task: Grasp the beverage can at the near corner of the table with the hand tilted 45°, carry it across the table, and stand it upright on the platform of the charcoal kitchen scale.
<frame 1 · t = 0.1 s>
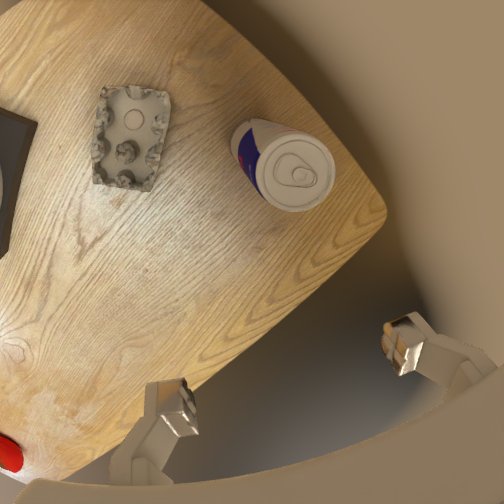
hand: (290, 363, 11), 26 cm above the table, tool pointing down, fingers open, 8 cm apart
egg carton: (133, 134, 30), on the table
beverage can: (254, 142, 33), on the table
tomato: (9, 440, 54), on the table
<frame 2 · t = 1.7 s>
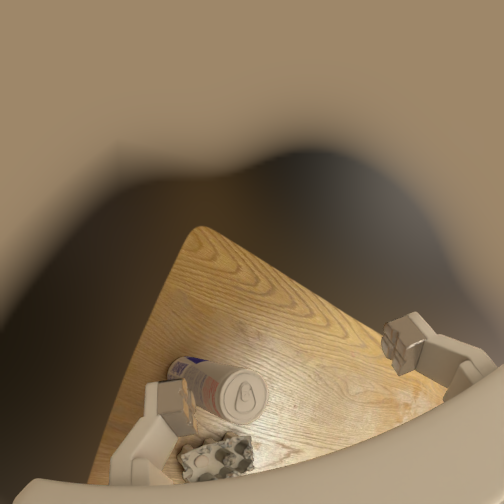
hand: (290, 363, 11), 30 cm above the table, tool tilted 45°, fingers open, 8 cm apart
egg carton: (210, 456, 37), on the table
beverage can: (185, 376, 38), on the table
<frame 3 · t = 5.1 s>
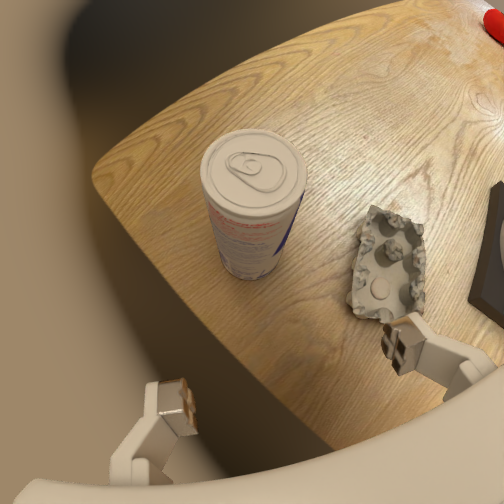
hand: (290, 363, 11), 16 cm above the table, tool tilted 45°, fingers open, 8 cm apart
egg carton: (379, 272, 29), on the table
beverage can: (250, 252, 30), on the table
tomato: (493, 37, 51), on the table
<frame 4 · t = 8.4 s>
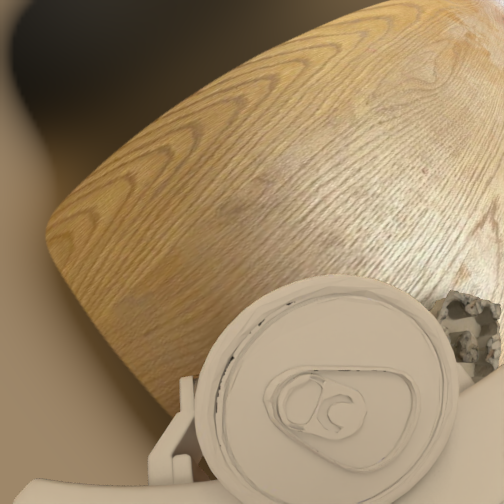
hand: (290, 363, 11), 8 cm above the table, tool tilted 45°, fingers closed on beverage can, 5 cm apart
egg carton: (443, 368, 19), on the table
beverage can: (275, 362, 19), on the table, touching gripper
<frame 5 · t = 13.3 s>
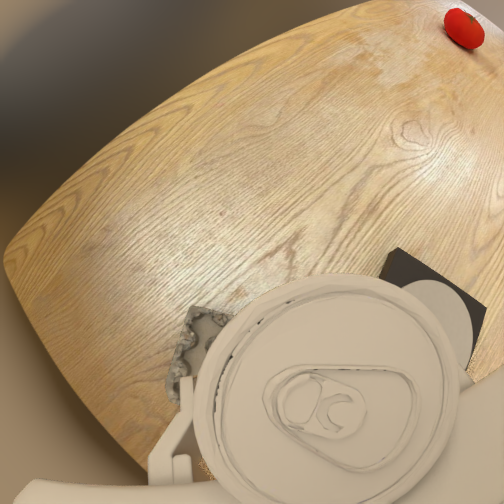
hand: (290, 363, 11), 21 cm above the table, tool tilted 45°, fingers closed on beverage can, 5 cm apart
egg carton: (213, 361, 31), on the table
beverage can: (275, 361, 19), point 13 cm above the table, touching gripper
scale: (412, 348, 32), on the table
tomato: (456, 40, 52), on the table
when the fingers open (12 cm above the table, at t = 18.7 s): beverage can stays where it is, resting on scale.
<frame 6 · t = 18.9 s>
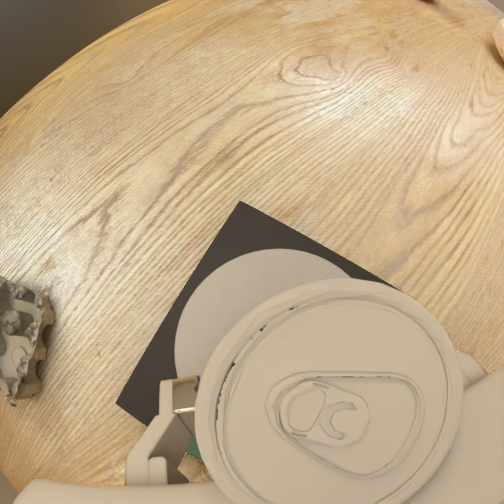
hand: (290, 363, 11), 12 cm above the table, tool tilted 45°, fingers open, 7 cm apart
egg carton: (23, 340, 22), on the table
beverage can: (276, 363, 19), point 3 cm above the table, touching scale
scale: (271, 359, 22), on the table
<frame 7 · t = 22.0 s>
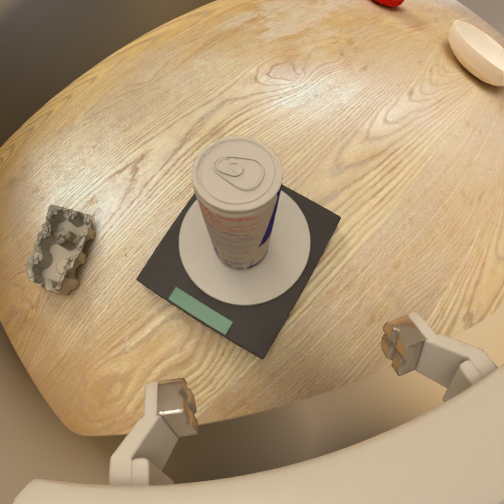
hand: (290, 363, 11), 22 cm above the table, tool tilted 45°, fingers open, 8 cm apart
bowl: (473, 67, 50), on the table
egg carton: (67, 254, 35), on the table
beverage can: (241, 245, 32), point 3 cm above the table, touching scale
scale: (241, 253, 36), on the table
tomato: (379, 2, 56), on the table
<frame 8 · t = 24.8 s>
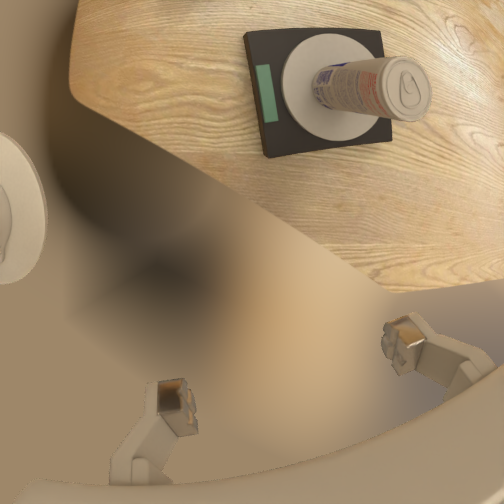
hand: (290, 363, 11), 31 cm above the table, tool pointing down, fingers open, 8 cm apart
beverage can: (331, 87, 32), point 3 cm above the table, touching scale
scale: (321, 87, 35), on the table
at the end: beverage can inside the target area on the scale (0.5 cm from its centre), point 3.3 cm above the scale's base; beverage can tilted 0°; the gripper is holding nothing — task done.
